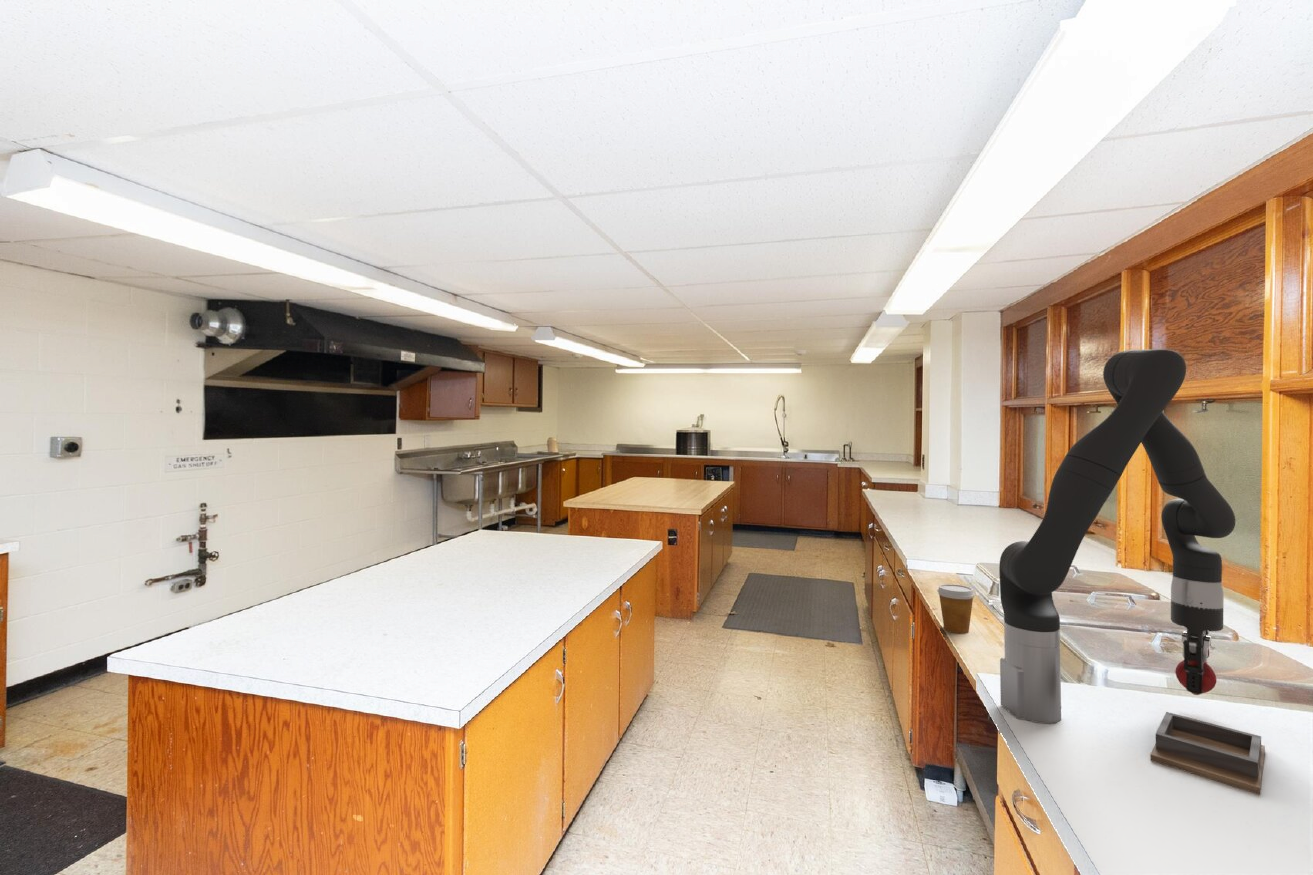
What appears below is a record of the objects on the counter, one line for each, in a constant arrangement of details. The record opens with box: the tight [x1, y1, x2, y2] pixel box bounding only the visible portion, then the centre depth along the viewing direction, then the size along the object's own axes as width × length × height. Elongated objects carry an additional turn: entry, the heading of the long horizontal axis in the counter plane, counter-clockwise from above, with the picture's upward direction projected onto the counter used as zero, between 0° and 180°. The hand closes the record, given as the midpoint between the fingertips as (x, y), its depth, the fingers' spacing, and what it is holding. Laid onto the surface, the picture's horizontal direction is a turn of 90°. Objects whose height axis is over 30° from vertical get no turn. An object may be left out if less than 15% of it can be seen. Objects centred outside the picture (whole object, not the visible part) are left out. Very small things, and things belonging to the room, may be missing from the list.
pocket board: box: [1149, 711, 1266, 795], centre depth 97 cm, size 18×13×4 cm
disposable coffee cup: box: [936, 583, 976, 634], centre depth 163 cm, size 10×10×12 cm
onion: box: [1175, 659, 1218, 696], centre depth 112 cm, size 6×6×8 cm
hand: (1195, 687), depth 112 cm, fingers closed on onion, 6 cm apart
